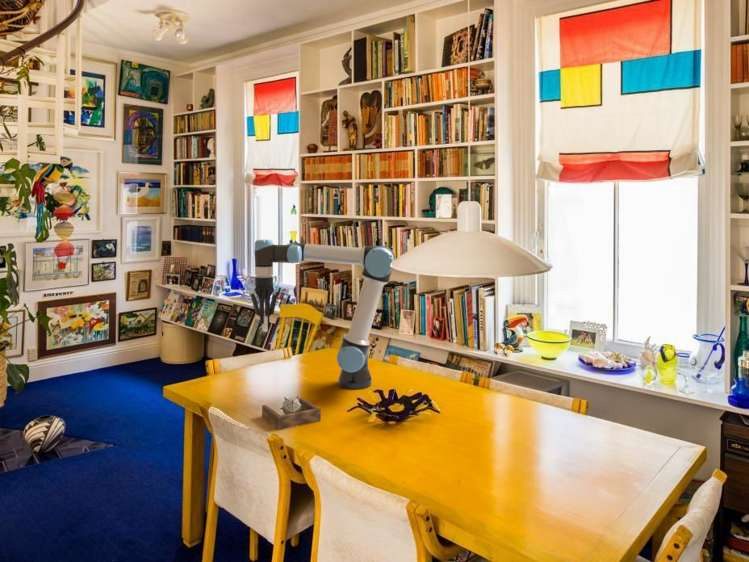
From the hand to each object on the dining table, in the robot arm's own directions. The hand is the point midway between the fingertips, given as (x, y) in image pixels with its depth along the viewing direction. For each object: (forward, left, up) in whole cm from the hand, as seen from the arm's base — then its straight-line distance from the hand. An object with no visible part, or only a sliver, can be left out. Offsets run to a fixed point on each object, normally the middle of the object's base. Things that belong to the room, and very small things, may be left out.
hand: (264, 331), depth 254 cm
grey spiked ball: (+4, +36, -27) cm, 45 cm away
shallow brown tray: (+5, +36, -26) cm, 45 cm away
